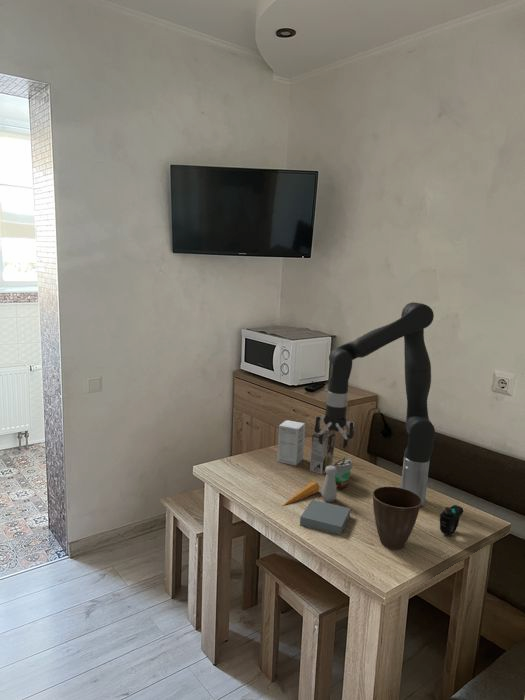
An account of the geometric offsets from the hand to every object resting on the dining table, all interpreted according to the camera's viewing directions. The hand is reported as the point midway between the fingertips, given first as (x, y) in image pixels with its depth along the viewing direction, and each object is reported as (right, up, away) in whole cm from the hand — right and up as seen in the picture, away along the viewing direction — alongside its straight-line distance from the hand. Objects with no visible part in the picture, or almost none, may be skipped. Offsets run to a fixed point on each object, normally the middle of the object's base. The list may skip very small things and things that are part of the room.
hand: (332, 445), depth 187 cm
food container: (+6, -19, +16) cm, 26 cm away
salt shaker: (-1, -21, +4) cm, 21 cm away
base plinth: (-4, -23, -12) cm, 27 cm away
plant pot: (+16, -27, -24) cm, 39 cm away
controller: (+37, -27, -16) cm, 48 cm away
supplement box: (-14, -14, +39) cm, 44 cm away
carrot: (-12, -21, +4) cm, 24 cm away
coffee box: (-1, -16, +31) cm, 35 cm away
